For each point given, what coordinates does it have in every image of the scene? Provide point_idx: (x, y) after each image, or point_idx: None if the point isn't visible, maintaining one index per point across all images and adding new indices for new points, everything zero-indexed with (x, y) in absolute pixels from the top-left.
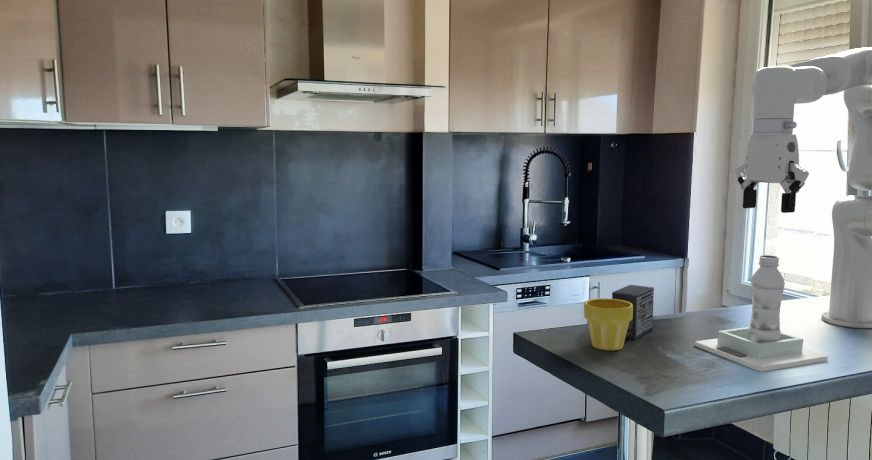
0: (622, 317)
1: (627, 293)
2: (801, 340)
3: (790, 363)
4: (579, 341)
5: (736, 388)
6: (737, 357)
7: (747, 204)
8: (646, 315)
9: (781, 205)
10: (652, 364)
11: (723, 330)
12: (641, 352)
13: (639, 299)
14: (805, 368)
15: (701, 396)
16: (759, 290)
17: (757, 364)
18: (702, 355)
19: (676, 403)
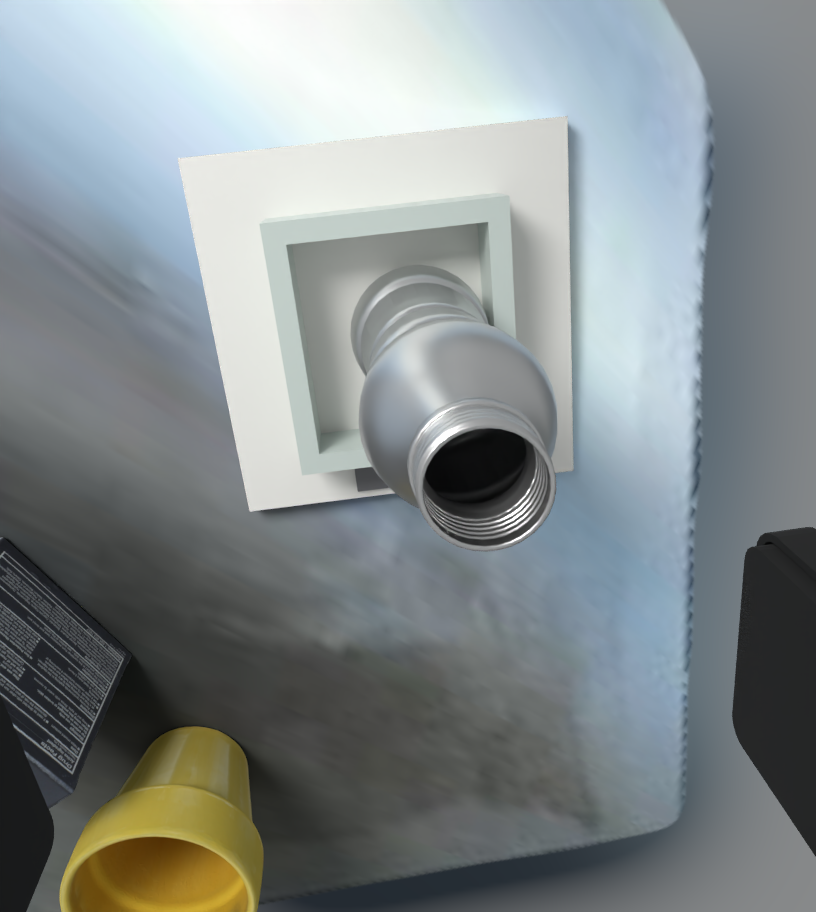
0: (260, 860)
1: None
2: (508, 205)
3: (569, 333)
4: None
5: (647, 617)
6: None
7: (28, 861)
8: (31, 635)
9: (796, 815)
10: (398, 721)
11: (300, 449)
12: (281, 700)
13: (58, 752)
14: (595, 284)
15: (654, 724)
16: (482, 485)
17: None
18: (361, 539)
19: (664, 792)
